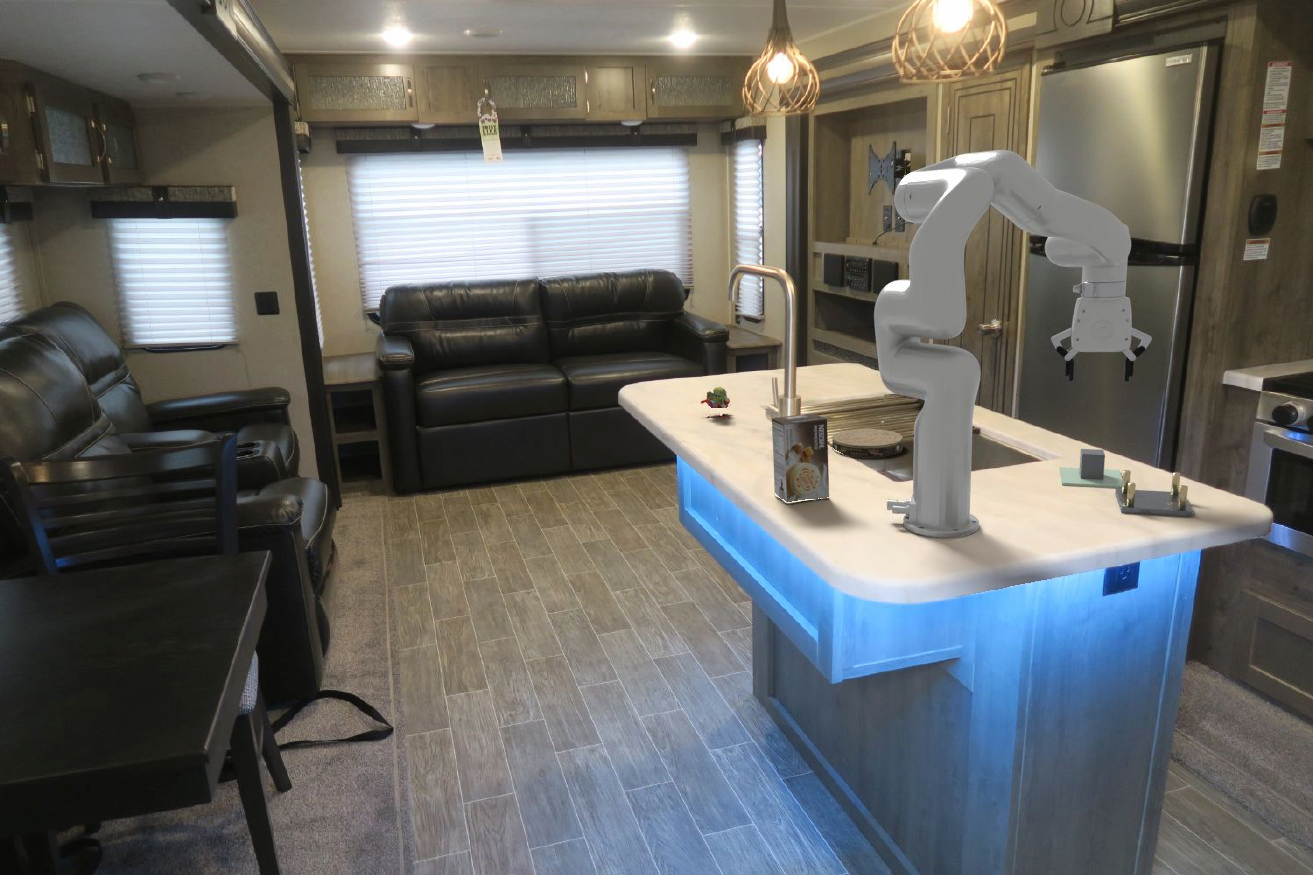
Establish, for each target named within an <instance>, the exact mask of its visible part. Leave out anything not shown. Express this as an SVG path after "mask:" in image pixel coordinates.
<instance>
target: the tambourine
mask: <svg viewBox="0 0 1313 875" xmlns="http://www.w3.org/2000/svg"><path fill="white" fill-rule="evenodd" d="M831 440H832V449H833V448H834V449H835V450H837V451H839V452H841V453H843V454H844V455H843V456H845V455H846V456H847V457H851V458H882V457H883V458H884V457H890V456H893V455H895V456H896V455H897V454H899V453H901V452H902V451H903V450H904V441H903V440H904V438H903V435H902V434H900V433H898V432H896V431H892V430H885V429H880V428H879V429H876V428H875V429H874V428H864V429H863V428H858V429H848V430H843V431H840V432H837V433H835V434H834V435H832V438H831Z"/></svg>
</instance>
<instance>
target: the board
mask: <svg viewBox="0 0 1313 875" xmlns="http://www.w3.org/2000/svg"><path fill="white" fill-rule="evenodd" d="M1105 457H1106V454H1105V451H1104V449H1095V448H1091V449H1090V448H1081V449H1080V456H1079V458H1080V459H1079V461H1080V462H1079V467H1061V466H1060V467H1059V469H1058V470H1059V474H1060V482H1061V486H1066V487H1068V486H1069V487H1070V486H1071V487H1084V488H1085V487H1087V488H1088V487H1089V488H1109V489H1122V483H1123V475H1122V474H1121V471H1120V469H1108V468H1107V469H1106V468H1105V459H1106V458H1105Z"/></svg>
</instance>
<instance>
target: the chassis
mask: <svg viewBox="0 0 1313 875" xmlns="http://www.w3.org/2000/svg"><path fill="white" fill-rule="evenodd" d="M1131 472H1132V471H1131V470H1129V469H1124V470H1123V472H1122V478H1123V483H1122V488H1115V497H1116V501H1117V503H1118V506H1119V510H1120V513H1121V514H1137V515H1138V514H1140V515H1150V516H1151V515H1152V516H1153V515H1155V516H1157V515H1158V516H1166V517H1167V516H1169V517H1186V518H1187V517H1188V518H1193V517H1194V510H1193V509H1192V507H1191V504H1190V503H1189V501H1188V491H1189V490H1188V489H1189V487H1188V486H1189V485H1185V484H1184V485H1183V484H1182V485H1181V481H1180V480H1181V473H1180V472H1179V471H1178V472H1175V471H1174V472H1172V477H1171V478H1172V480H1171V490H1170V491H1165V490H1143V489H1136V483H1135V482H1131Z"/></svg>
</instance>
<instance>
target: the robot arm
mask: <svg viewBox="0 0 1313 875" xmlns="http://www.w3.org/2000/svg"><path fill="white" fill-rule="evenodd" d="M893 197H894V198H893V200H894V208H895V210H896V211H897V214H898V215H899V216H900V218H902V219H903V220H904V221H906V222H909V223H911V224H921V225H920V227H919V228H918V229H917V231H916V233H915V235H914V236H913V239H912V241H911V243H910V246H909V252H908V266H909V269H908V271H909V272H908V273H909V276H908V278H909V279H897V280H892V281H891V282H889V283H888V284H886V285H885V286H884V287H883V288H882V289H881V291H880V292H879V295H878V296H877V298H876V301H875V305H874V311H873V321H874V332H875V333H874V334H875V343H876V352H877V353H876V354H877V362H878V371H879V375H880V379H881V381H882V384H883V385H884V386H885V388H886V389H887V390H888V391H889V392H892V393H893V394H895V395H900V396H904V397H910V398H914V399H920V400H923V401H924V404H923V407H922V408H921V410H920V411H919V413H918V415H917V416H916V419H915V420H914V421H915V422H914V426H913V433H914V438H912V439H913V461H912V462H913V465H912V466H913V467H912V468H913V469H912V472H913V474H912V494H911V498H905V500H899V499H890V498H888V499H887V500H886V501H887V502H886V511H891V512H892V514H896V515H900V514H901V515H902V514H903V515H904V517H903V519H902V520H903V521H902V522H903V527H905V528H906V530H908V531H910V532H913V533H915V534H918V535H921V536H926V537H933V538H958V537H964V536H968V535H972V534H974V533H975V532H977V531H979V528H980V520H979V519H978V517H977V516H975V515H974V514H971V486H972V484H971V483H972V481H971V480H972V454H973V453H972V452H973V449H972V448H973V425H974V424H973V423H974V422H973V421H974V411H975V406H976V404H975V403H976V399H977V394H978V391H979V387H980V383H981V374H982V373H981V365H980V363H979V361H978V359H977V358H976V357H975V355H974V354H972V352H970V351H968V350H966V349H963V348H961V347H958V346H953V345H947V344H946V345H945V344H938V343H937V344H936V343H924V342H921V339H929V340H930V339H931V340H950V339H952V338H953V339H954V338H955V337H957V336H958V335H960V334H961V333H962V332H963V330H964V328H965V326H966V323H967V296H966V295H967V293H966V278H965V247H966V245H967V241H968V239H969V237H970V234H971V233H972V231H973V230H974V229H975V226H976V225H977V223H978V222H979V221H980V220H981V218H982V217H983V216H984V215H985V213H986V212H987V210H988V209H989V207H990V205H991V206H993V208H995V209H996V210H997V211H998V212H1000V213H1001V214H1002V215H1003V216H1004V217H1005V218H1006V219H1008V220H1009V221H1010V222H1012V223H1013V224H1014V225H1015V226H1016V227H1017V228H1019V229H1020V230H1022V231H1023V232H1027V233H1029V234H1034V235H1037V236H1041V237H1045V238H1047V239H1046V241H1045V244H1044V253H1045V254H1046V257H1047V259H1048V260H1049V261H1050V263H1052V264H1055V265H1056V266H1059V267H1066V268H1082V272H1081V275H1082V276H1081V283H1079V284H1077V285H1074V284H1073V285H1072V286H1073V287H1072V292H1073V293H1077V294H1080V297H1078V298H1076V302H1075V304H1074V305H1075V306H1074V312H1073V316H1072V323H1071V327H1069V328H1067V329H1065V330H1063V331H1061V332H1059V333H1057V334H1055V335H1053V336H1051V338H1050V341H1051V342H1052V344H1053V346H1054V349H1055V350H1056V352H1057V353H1058V354H1059V355H1060V356H1061V357H1062V358H1063V359H1064V360H1065V363H1064V364H1065V365H1064V376H1065V377H1068V378H1067V379H1068V382H1073V381H1074V373H1075V372H1074V371H1075V370H1074V369H1075V361H1074V360H1075V359H1074V357H1075V356H1076V355H1077V354H1078V353H1079V352H1082V353H1119V352H1120V353H1121V352H1122V353H1123V354H1124V355H1125V359H1123V369H1122V370H1123V371H1122V372H1123V373H1122V375H1123V376H1122V378H1123V381H1124V382H1125V383H1126V382H1130V377H1132V378H1133V375H1134V366H1135V364H1134V363H1135V361H1136V360H1137V358H1138V357H1139V356H1141V355H1142V354H1143V353H1145V351H1146V350H1147V348H1148V346H1149V345H1150V344H1151V342H1152V340H1153V338H1152V336H1151V335H1149V334H1147V333H1145V332H1143V331H1141V330H1138V329H1136V328H1134V327H1132V324H1133V322H1132V317H1133V315H1132V305H1131V299H1130V297H1128V296H1126V292H1127V290H1126V289H1127V278H1128V277H1127V276H1128V259H1129V258H1128V257H1129V256H1130V253H1131V249H1132V239H1131V235H1130V229H1129V226H1128V225H1127V224H1125V223H1124V222H1122V221H1121V220H1120V219H1119V218H1118V217H1117V216H1116V215H1115V214H1113V213H1112V211H1110V210H1108V209H1107V208H1105V207H1104V206H1101V205H1100V204H1097V203H1094V202H1092V201H1090V200H1086V199H1084V198H1082V197H1080V196H1077V195H1074V194H1071V193H1069V192H1066V191H1063V190H1061V189H1058V188H1057V187H1055V186H1054V185H1053V184H1052V183H1051V182H1050V181H1049V180H1047V179H1046V178H1045V177H1044V176H1043V175H1042V174H1041V173H1040V172H1039V171H1038V170H1037V169H1035V168H1034V166H1032V165H1031V164H1030V163H1029V162H1028V161H1027V160H1026V159H1024V158H1023V157H1022V155H1020V154H1018V153H1016V152H1014V151H1012V150H1007V149H996V150H995V149H994V150H987V151H986V150H985V151H978V152H968V153H967V152H966V153H962V154H958V155H954V156H953V157H950V158H947V159H946V158H945V159H943V160H942V161H939V162H936V163H934V164H930V165H927V166H924V167H922V168H919V169H917V170H913V171H911V172H910V173H908V174H906V175H905V176H904V177H903V178H902V179H901V180H900V181H899V183H898V184H897V187H896V188H895V191H894V196H893ZM1069 337H1070V343H1071V346H1070V348H1069V349H1065V348H1064V346H1063V345H1062V344H1061V341H1062V340H1065V339H1066V338H1069ZM1132 337H1134V338H1137V339H1138V340H1140V343H1139V344H1138V345H1137V347H1135V348H1134V349H1131V346H1132V345H1131V344H1132Z"/></svg>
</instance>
